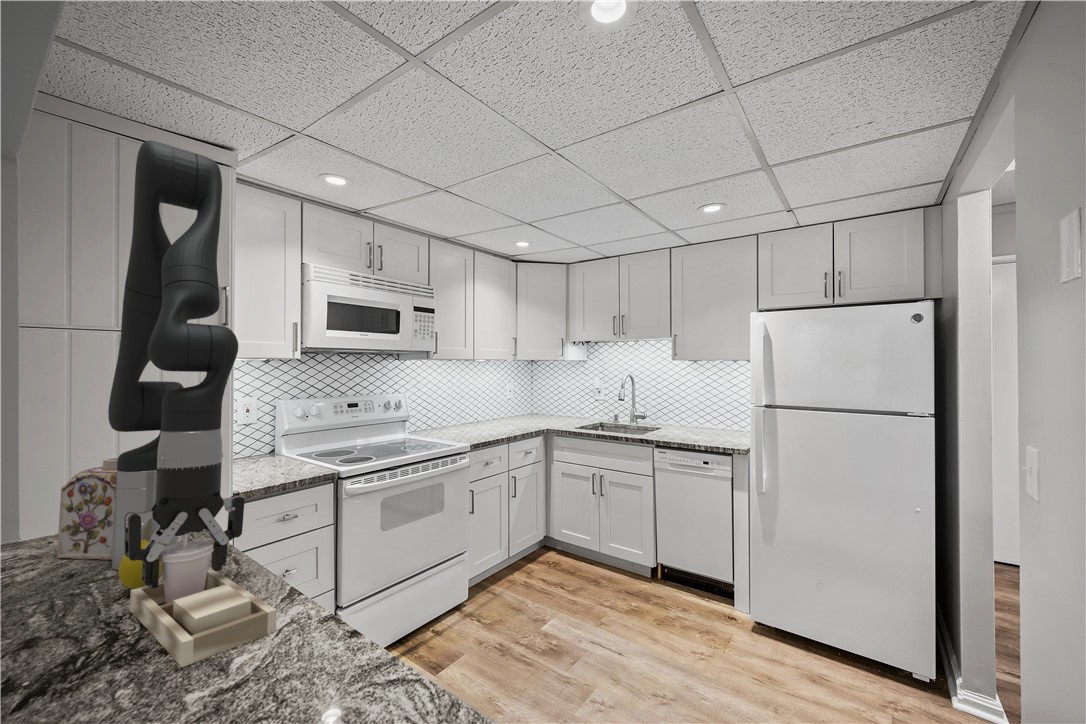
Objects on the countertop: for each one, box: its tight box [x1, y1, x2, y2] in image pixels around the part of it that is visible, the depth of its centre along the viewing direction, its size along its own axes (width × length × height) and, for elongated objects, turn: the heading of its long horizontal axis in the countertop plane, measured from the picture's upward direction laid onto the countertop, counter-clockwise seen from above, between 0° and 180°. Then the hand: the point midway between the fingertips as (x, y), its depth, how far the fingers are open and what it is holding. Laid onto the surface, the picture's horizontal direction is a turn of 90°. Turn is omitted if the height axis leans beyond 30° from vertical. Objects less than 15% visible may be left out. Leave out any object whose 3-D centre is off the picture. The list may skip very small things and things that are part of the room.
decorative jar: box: [57, 456, 119, 561], centre depth 95 cm, size 12×12×18 cm
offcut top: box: [173, 584, 251, 635], centre depth 62 cm, size 8×6×2 cm
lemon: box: [118, 540, 162, 590], centre depth 76 cm, size 6×6×8 cm
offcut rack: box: [129, 568, 277, 668], centre depth 64 cm, size 22×10×4 cm, turn 53°
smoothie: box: [158, 533, 214, 604], centre depth 68 cm, size 6×6×14 cm
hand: (185, 577), depth 68 cm, fingers open, 7 cm apart
